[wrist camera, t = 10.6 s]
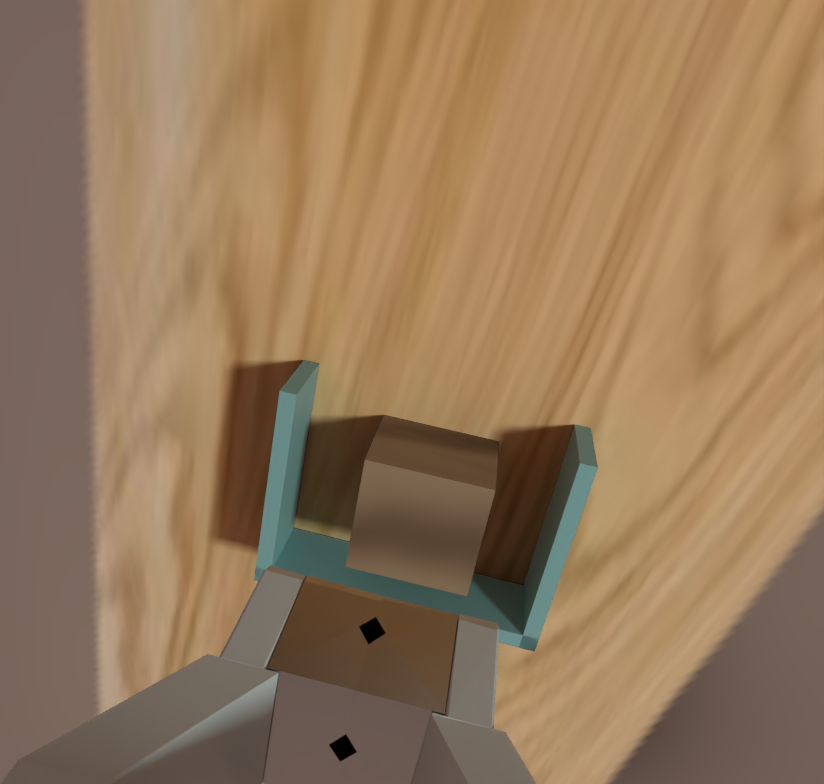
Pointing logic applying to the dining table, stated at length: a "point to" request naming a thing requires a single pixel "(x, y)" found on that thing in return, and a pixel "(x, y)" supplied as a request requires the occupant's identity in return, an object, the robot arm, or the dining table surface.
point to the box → (326, 559)
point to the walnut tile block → (423, 504)
